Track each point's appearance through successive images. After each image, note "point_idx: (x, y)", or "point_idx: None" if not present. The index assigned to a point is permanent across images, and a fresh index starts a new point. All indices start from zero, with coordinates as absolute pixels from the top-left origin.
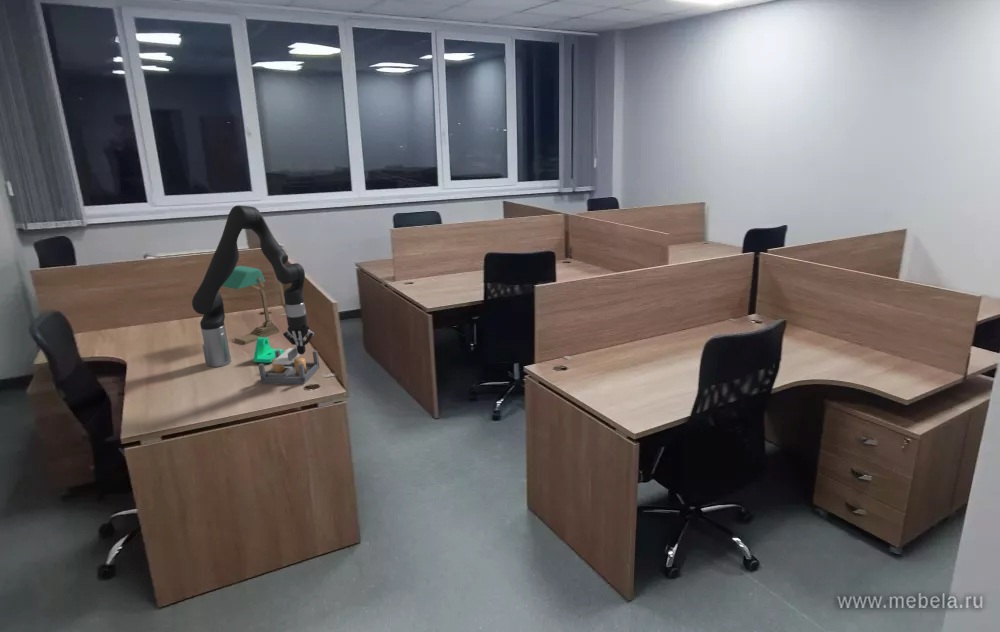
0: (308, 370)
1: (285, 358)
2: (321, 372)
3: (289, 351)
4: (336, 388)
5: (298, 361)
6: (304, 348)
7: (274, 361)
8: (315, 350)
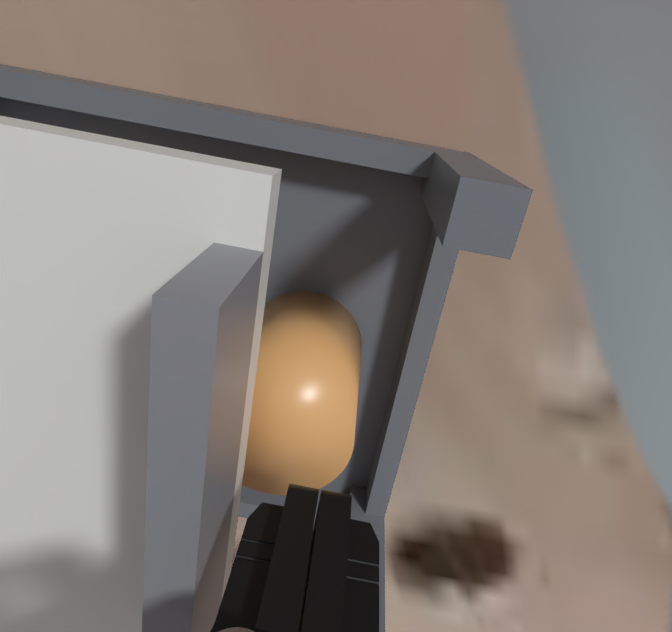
0: (365, 283)
1: (105, 569)
2: (504, 289)
3: (27, 309)
4: (648, 613)
5: (279, 482)
6: (368, 612)
7: (4, 623)
8: (495, 183)
